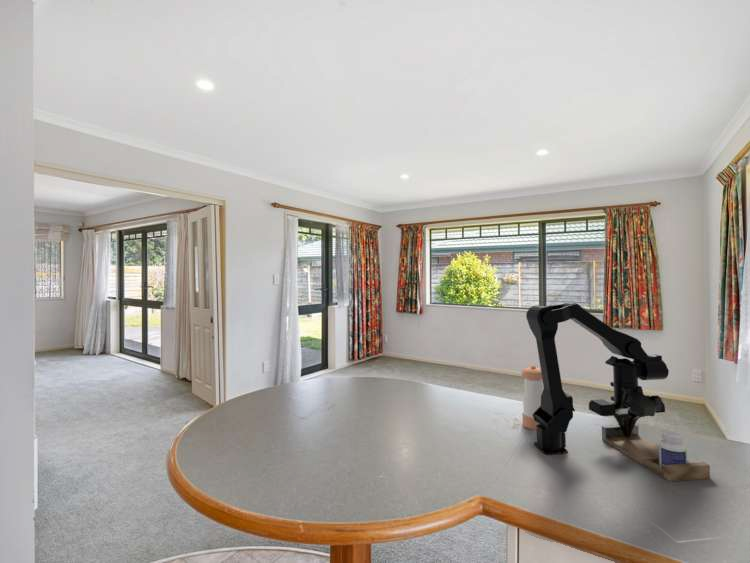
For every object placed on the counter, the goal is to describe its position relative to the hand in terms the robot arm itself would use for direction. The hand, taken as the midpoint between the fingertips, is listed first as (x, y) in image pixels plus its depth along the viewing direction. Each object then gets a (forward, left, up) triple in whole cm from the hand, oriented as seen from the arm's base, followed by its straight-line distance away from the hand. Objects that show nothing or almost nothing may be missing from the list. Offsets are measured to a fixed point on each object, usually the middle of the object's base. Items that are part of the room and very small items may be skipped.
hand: (627, 436), depth 106 cm
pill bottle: (0, -15, -2) cm, 15 cm away
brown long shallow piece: (0, -8, -2) cm, 8 cm away
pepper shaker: (-18, +17, -2) cm, 25 cm away
